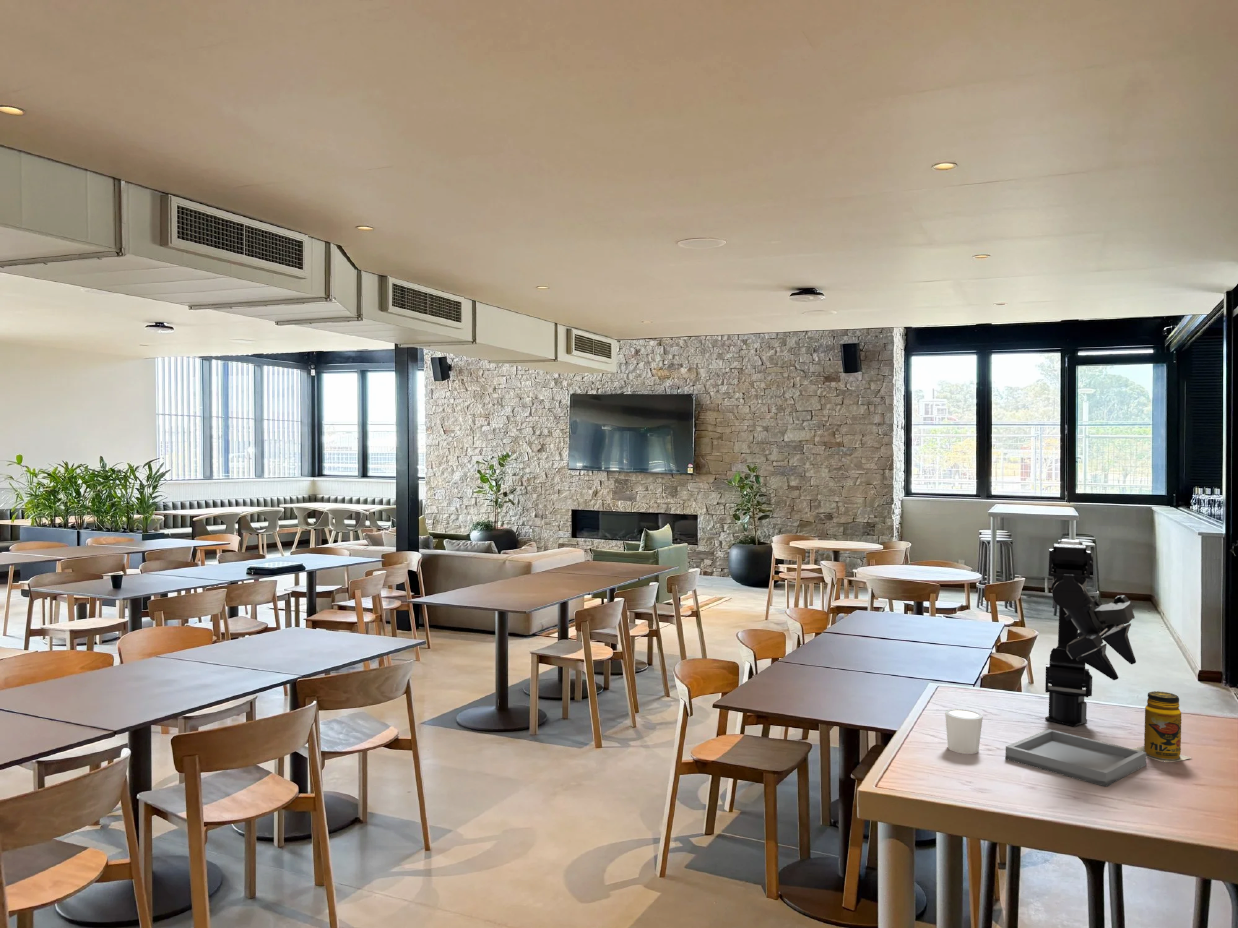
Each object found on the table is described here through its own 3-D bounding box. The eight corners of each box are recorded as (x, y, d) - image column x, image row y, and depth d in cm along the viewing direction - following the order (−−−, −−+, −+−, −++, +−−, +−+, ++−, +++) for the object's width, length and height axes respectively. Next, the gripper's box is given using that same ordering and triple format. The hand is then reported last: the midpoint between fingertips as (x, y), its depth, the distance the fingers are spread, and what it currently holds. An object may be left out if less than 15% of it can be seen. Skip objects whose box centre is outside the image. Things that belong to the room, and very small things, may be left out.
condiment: (1166, 763, 170) (1167, 700, 170) (1125, 749, 178) (1126, 689, 178) (1192, 759, 173) (1193, 696, 173) (1150, 745, 181) (1152, 685, 181)
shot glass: (964, 756, 172) (965, 720, 172) (936, 746, 178) (937, 710, 178) (989, 751, 175) (990, 715, 175) (961, 741, 181) (962, 706, 181)
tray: (1005, 758, 171) (1005, 746, 171) (1048, 740, 183) (1049, 728, 183) (1105, 786, 157) (1106, 772, 157) (1145, 765, 169) (1146, 752, 169)
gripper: (1092, 600, 175) (1143, 673, 170) (1128, 573, 187) (1178, 641, 182) (1045, 623, 183) (1093, 693, 178) (1083, 596, 195) (1129, 661, 190)
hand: (1125, 671), depth 182 cm, fingers open, 9 cm apart
